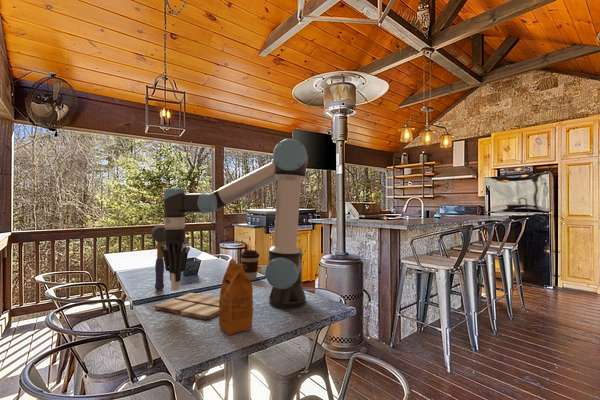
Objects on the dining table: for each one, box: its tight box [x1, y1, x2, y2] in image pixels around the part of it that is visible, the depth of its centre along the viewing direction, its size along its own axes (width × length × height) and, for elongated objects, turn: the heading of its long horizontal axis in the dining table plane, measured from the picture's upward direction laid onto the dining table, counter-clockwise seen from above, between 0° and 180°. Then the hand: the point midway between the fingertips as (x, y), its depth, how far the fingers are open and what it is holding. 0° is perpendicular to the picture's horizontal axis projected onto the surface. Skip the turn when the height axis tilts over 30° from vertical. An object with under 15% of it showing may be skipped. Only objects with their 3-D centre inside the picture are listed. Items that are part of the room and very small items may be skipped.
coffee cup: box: [240, 249, 260, 281], centre depth 167 cm, size 10×10×15 cm
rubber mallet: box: [150, 224, 166, 291], centre depth 144 cm, size 12×8×30 cm, turn 29°
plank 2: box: [180, 304, 219, 321], centre depth 115 cm, size 12×9×1 cm
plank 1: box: [154, 298, 196, 315], centre depth 120 cm, size 12×9×1 cm
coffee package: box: [218, 258, 254, 336], centre depth 103 cm, size 10×12×22 cm
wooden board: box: [173, 292, 220, 307], centre depth 127 cm, size 25×9×2 cm, turn 67°
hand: (175, 289), depth 119 cm, fingers closed
